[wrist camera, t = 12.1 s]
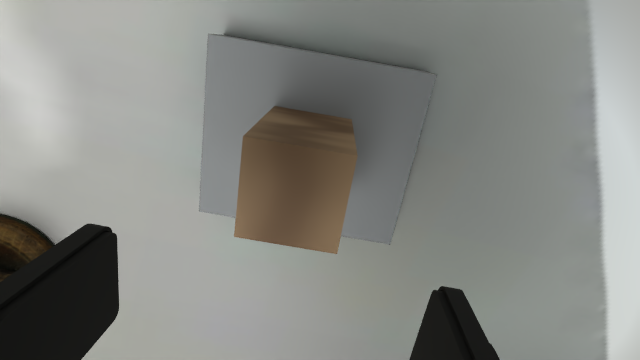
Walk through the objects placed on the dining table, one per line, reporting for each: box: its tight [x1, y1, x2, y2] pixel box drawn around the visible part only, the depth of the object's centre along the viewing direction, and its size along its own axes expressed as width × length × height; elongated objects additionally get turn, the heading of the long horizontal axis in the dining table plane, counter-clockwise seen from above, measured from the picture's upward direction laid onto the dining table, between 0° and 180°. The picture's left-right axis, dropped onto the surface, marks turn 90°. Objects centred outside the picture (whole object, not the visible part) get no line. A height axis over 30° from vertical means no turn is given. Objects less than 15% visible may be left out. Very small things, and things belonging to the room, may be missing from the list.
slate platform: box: [199, 34, 437, 245], centre depth 25 cm, size 14×12×3 cm
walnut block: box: [234, 106, 358, 254], centre depth 20 cm, size 5×5×8 cm
